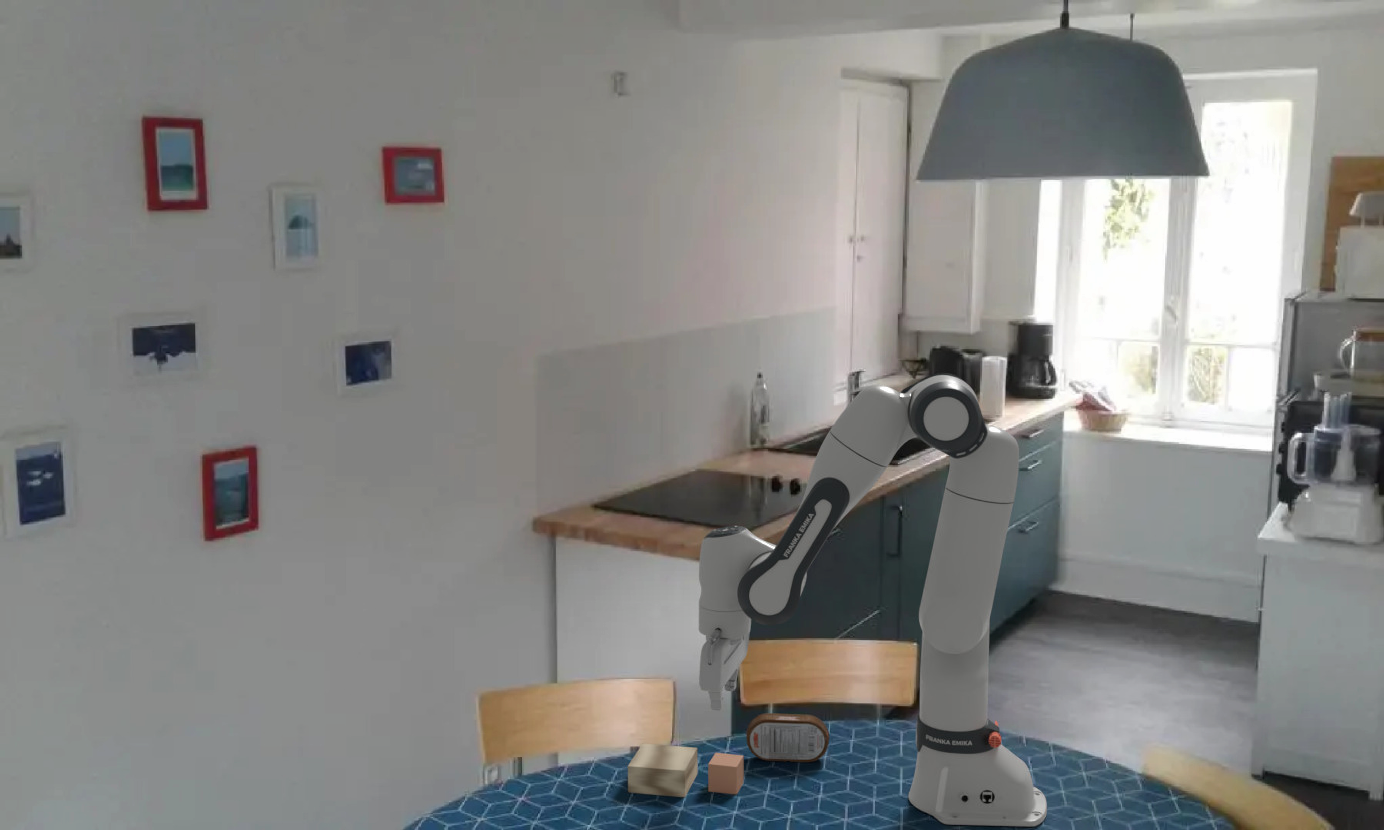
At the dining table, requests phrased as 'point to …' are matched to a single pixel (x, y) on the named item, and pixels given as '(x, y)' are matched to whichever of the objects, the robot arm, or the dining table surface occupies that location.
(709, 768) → the cube
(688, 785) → the base block
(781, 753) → the tin
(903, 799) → the dining table surface
